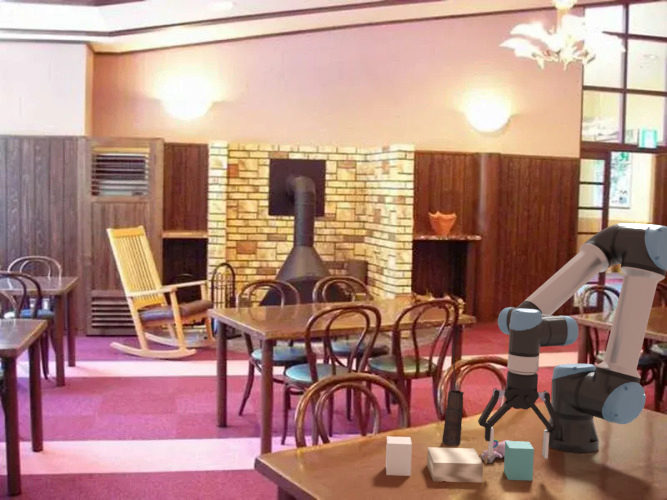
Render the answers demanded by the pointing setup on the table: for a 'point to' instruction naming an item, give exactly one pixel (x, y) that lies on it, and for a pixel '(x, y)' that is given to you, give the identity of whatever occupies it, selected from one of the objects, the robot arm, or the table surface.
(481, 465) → the birch base
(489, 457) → the pink animal figurine
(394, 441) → the off-white block
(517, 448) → the teal block
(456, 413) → the butter churn
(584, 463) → the table surface
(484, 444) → the table surface
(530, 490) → the table surface
